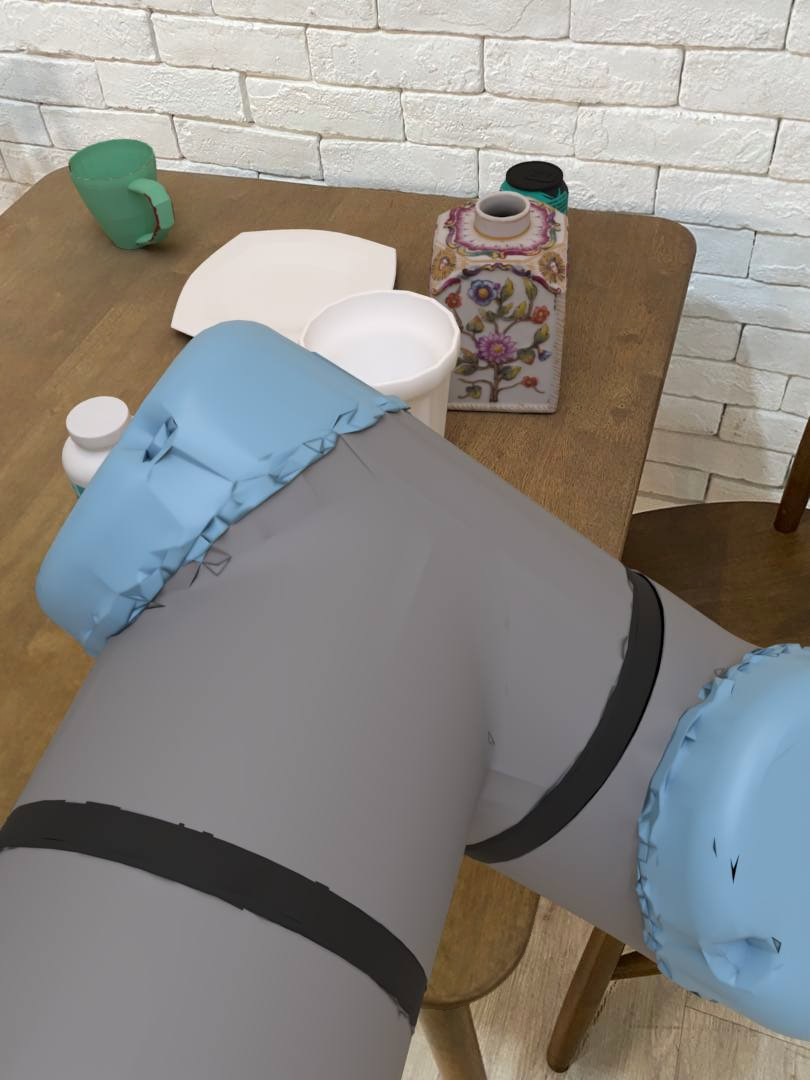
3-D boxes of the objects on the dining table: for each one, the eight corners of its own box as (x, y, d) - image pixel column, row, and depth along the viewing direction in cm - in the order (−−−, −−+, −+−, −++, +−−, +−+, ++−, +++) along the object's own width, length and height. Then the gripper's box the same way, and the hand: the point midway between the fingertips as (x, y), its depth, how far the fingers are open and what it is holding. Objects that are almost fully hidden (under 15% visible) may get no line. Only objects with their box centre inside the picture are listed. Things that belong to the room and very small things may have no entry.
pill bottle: (82, 546, 80) (24, 426, 70) (144, 493, 84) (98, 372, 73) (144, 582, 77) (93, 462, 66) (205, 525, 80) (166, 404, 70)
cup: (482, 446, 85) (482, 302, 74) (433, 544, 77) (425, 400, 66) (357, 418, 89) (338, 277, 77) (299, 509, 81) (269, 367, 70)
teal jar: (512, 256, 106) (515, 152, 97) (571, 268, 103) (579, 163, 94) (487, 289, 101) (488, 184, 93) (548, 303, 99) (555, 196, 90)
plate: (147, 351, 98) (142, 335, 96) (235, 235, 112) (232, 220, 111) (355, 381, 92) (353, 365, 91) (420, 255, 107) (419, 239, 105)
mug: (78, 242, 113) (49, 162, 106) (144, 209, 118) (122, 130, 110) (148, 285, 106) (123, 203, 99) (216, 248, 110) (197, 167, 103)
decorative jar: (561, 340, 95) (574, 169, 81) (559, 416, 87) (573, 241, 74) (443, 337, 96) (437, 169, 83) (431, 412, 89) (422, 240, 75)
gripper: (406, 942, 30) (273, 794, 53) (708, 741, 34) (465, 683, 57) (305, 737, 30) (213, 675, 52) (625, 557, 34) (412, 571, 56)
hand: (345, 679), depth 54 cm, fingers closed
